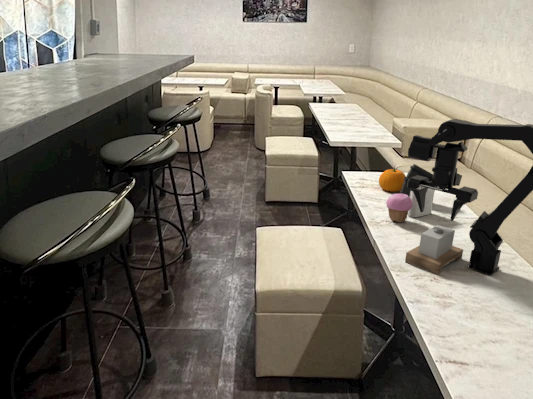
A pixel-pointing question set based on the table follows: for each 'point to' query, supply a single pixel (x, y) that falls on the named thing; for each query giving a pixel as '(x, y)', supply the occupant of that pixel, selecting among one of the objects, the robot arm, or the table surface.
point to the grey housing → (436, 241)
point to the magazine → (413, 172)
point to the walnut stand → (432, 259)
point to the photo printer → (415, 208)
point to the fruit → (392, 180)
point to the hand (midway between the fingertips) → (436, 216)
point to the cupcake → (399, 206)
